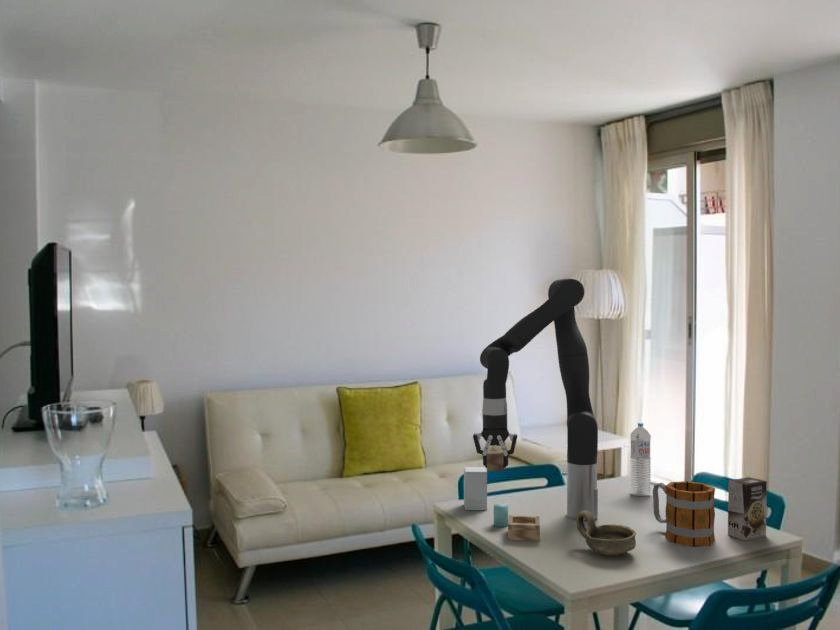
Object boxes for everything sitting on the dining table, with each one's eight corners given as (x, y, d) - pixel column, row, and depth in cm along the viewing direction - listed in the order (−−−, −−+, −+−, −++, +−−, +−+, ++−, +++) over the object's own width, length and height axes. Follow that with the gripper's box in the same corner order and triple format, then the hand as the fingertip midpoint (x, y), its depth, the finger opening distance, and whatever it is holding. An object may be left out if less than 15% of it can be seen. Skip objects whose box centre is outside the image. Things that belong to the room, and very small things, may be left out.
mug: (725, 541, 213) (725, 488, 213) (695, 550, 206) (695, 495, 205) (668, 523, 230) (668, 474, 229) (638, 531, 222) (638, 481, 222)
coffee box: (745, 541, 213) (746, 484, 213) (726, 534, 219) (727, 479, 218) (767, 536, 217) (767, 480, 217) (748, 530, 223) (748, 476, 223)
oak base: (539, 531, 223) (539, 516, 223) (539, 540, 214) (539, 525, 214) (508, 529, 224) (508, 515, 224) (508, 539, 215) (507, 524, 215)
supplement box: (487, 510, 244) (487, 471, 244) (464, 510, 245) (464, 471, 244) (485, 504, 252) (485, 466, 251) (463, 504, 252) (463, 466, 252)
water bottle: (631, 496, 260) (631, 424, 259) (629, 491, 267) (629, 421, 266) (651, 497, 259) (652, 425, 258) (649, 492, 266) (649, 421, 265)
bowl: (620, 566, 194) (620, 528, 194) (563, 550, 207) (563, 514, 206) (647, 553, 204) (647, 516, 203) (591, 538, 216) (591, 504, 216)
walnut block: (504, 467, 233) (504, 451, 233) (503, 470, 228) (503, 454, 228) (488, 466, 234) (487, 450, 234) (486, 470, 229) (486, 454, 229)
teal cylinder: (508, 523, 231) (508, 503, 231) (508, 527, 227) (507, 507, 226) (494, 522, 232) (493, 503, 231) (493, 527, 227) (493, 507, 227)
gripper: (518, 410, 233) (519, 465, 234) (472, 410, 236) (473, 464, 236) (518, 414, 226) (518, 470, 226) (470, 414, 228) (471, 469, 229)
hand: (495, 467), depth 231 cm, fingers closed on walnut block, 5 cm apart
